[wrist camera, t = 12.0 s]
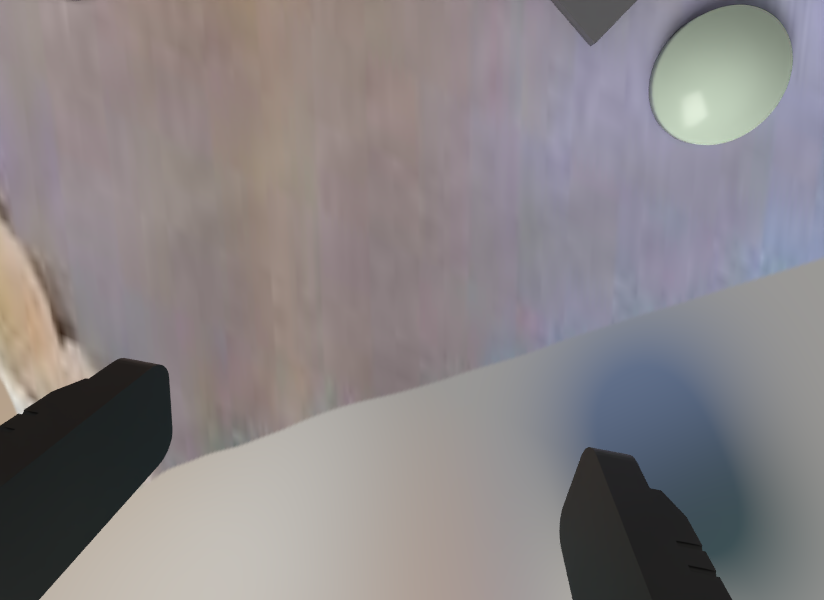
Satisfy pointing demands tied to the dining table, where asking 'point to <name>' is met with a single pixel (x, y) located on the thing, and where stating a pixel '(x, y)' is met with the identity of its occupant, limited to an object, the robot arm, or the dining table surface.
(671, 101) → the pale green dome
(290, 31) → the dining table surface
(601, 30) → the lamp base pad
